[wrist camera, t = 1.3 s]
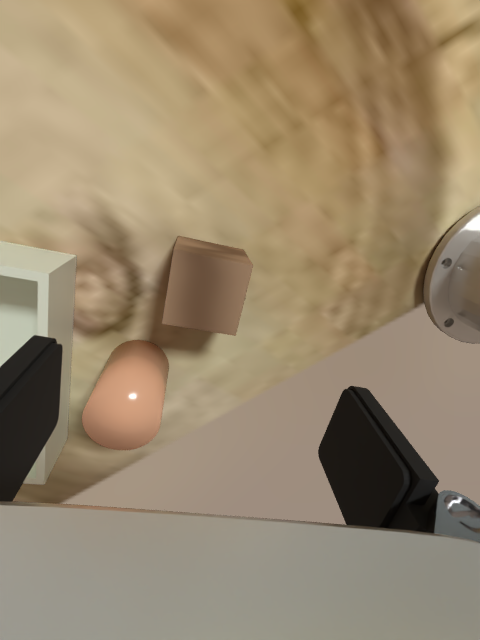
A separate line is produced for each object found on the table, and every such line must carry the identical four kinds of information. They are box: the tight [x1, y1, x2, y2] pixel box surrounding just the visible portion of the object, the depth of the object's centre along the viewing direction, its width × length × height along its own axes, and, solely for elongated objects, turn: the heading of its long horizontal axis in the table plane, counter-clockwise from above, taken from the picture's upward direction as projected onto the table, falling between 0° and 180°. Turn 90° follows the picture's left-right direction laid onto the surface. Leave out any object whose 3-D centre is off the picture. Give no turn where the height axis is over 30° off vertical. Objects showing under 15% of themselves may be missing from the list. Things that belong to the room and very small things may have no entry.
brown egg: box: [82, 340, 169, 450], centre depth 25 cm, size 5×5×7 cm
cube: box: [162, 236, 253, 336], centre depth 24 cm, size 5×5×5 cm
